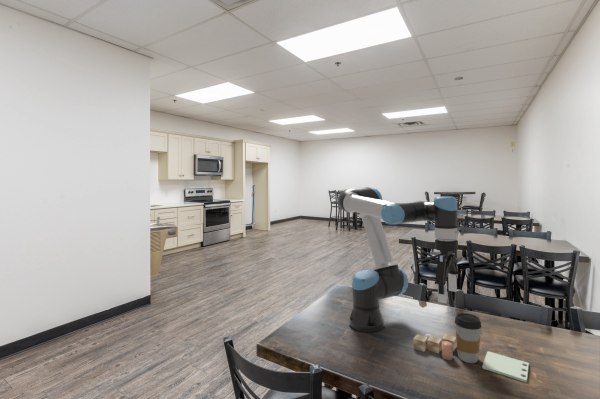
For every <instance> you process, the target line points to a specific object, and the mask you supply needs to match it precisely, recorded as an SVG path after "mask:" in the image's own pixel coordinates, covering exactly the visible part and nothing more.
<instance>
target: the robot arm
mask: <svg viewBox="0 0 600 399" xmlns="http://www.w3.org/2000/svg"><path fill="white" fill-rule="evenodd" d="M337 205H338V207H339V209H340V210H341V211H343V212H346V213H350V214H353V213H357V217H359V218H360V219H362V224H363V227H364V231H365V235H366V237H367V242H368V245H369V249H370V252H371V255H372V258H373V262H374V268H373V269H368V270H367V269H365V270H360V271H357V272H356V273H354V274H353V276H352V278H351V279H352V280H351V281H352V282H351V288H352V289H351V290H352V309H351V312H350V316H349V318H348V319H349V320H348V321H349V326H350V327H351V328H352V329H353V330H356V331H357V332H362V333H376V332H379V331H381V330H382V329H384V328H385V320H384V316H383V314H382V312H381V309H380V300H384V299H387V298H388V299H389V298H392V297H397V296H398V297H399V296H400V295H402V294H403V295H404V293H405V292H406V291H407V289H408V286H409V279H408V275H407V273H406V272H405V270H404V269H402V268H399V265H398V263H396V262H395V261H394V260H393V256H392V253H391V249H390V247H389V243H388V240H387V237H386V234H385V231H384V230H385V229H384V227H383V223H382V221H383V222H384V223H385V224H387V225H399V224H407V223H414V222H415V223H416V222H424V221H425V222H433V223H434V238H435V239H434V240H435V241H434V248H435V250H437V251H440V254H439V255H437V263H436V274H435V281H434V285H437V303H441V304H446V305H447V304H448V301H447V300H448V298H447V297H448V296H447V294H448V292H447V284H448V291H449V292H455V293H457V292H458V291H457V288H458V287H457V285H458V284H457V281H458V280H457V275H459V274H460V271H459V269H458V263H457V257H456V252H457V251H458V250H459V240H458V234H460V230H458V209H459V208H458V202H457V198H456V197H455V196H436V197H434V198H433V201H423V200H416V201H412V202H403V203H400V202H399V203H398V202H392V201H388V200H383V196H382V194H381V192H380V191H379V190H378V189H377V188H375V187H367V186H366V187H359V188H358V187H357V188H356V187H355V188H347V189H343V191H342V192H340V194H339V195H338V198H337ZM447 277H448V279H447ZM447 280H448V283H447ZM446 283H447V284H446Z"/></svg>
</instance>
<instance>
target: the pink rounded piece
mask: <svg viewBox="0 0 600 399" xmlns="http://www.w3.org/2000/svg"><path fill="white" fill-rule="evenodd" d="M453 355H454V354H453V344H452V343H450V342H448V341H443V342H442V349H441V358H442V359H444V360H446V361H452V360H453V359H454V356H453Z"/></svg>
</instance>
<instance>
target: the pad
mask: <svg viewBox="0 0 600 399" xmlns="http://www.w3.org/2000/svg"><path fill="white" fill-rule="evenodd" d="M529 365H530V363H529V362H526V361H524V360H519V359H517V358H513V357H509V356H507V355H503V354H500V353H496V352H492V351H488V350H487V352H486V354H485V357H484V361H483V363H482V366H481V367H482V369H483V370H487V371H490V372H493V373H496V374H499V375H502V376H504V377H508V378H511V379H514V380H518V381H519V382H520V381H521V382H524V383H526V384H527V382H528V377H529V376H528V374H529Z"/></svg>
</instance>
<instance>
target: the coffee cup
mask: <svg viewBox="0 0 600 399" xmlns="http://www.w3.org/2000/svg"><path fill="white" fill-rule="evenodd" d="M454 323H455V337H456V349H457V350H456V351H457V356H458V358H459V359H460V360H461V362H465V363H466V364H467V363H468V364H475V363H477V362H478V361H479V353H480V345H481V343H480V342H481V328H482V322H481V319H480V317H479V316H477V315H476V314H472V313H466V312H460V313H457V314H456V316H455V318H454Z"/></svg>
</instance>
